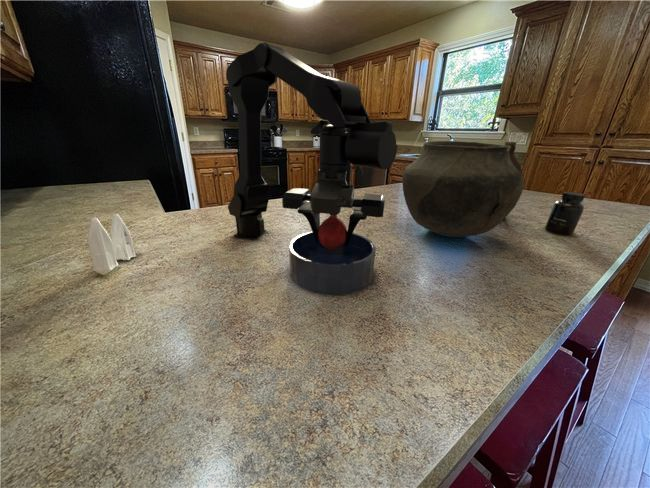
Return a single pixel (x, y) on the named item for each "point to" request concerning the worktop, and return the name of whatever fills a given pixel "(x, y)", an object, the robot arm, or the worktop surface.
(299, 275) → the bowl
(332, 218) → the onion
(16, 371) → the worktop surface
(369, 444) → the worktop surface
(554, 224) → the supplement bottle
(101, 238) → the shaker set
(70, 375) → the worktop surface
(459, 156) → the pot
